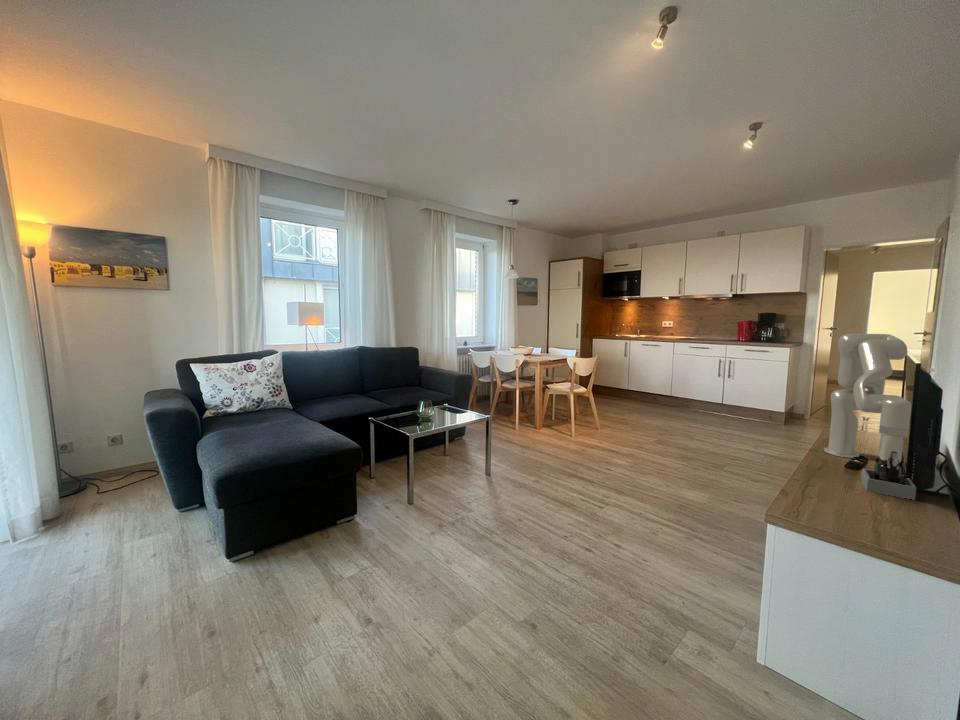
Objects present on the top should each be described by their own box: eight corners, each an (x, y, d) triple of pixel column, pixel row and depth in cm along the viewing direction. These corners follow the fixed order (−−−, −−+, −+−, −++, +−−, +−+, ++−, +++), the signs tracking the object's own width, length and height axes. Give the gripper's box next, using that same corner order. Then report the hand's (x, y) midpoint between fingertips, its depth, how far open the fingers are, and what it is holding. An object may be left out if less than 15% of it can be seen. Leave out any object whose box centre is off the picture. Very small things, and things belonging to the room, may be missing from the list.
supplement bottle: (904, 491, 147) (908, 460, 145) (886, 491, 147) (889, 460, 145) (885, 483, 154) (889, 454, 152) (868, 483, 154) (871, 454, 152)
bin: (861, 480, 159) (862, 468, 158) (905, 488, 151) (907, 475, 151) (866, 491, 149) (867, 478, 148) (914, 500, 141) (916, 487, 141)
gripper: (874, 424, 156) (870, 465, 158) (884, 435, 143) (878, 479, 145) (901, 427, 152) (896, 469, 154) (914, 438, 138) (908, 484, 140)
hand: (888, 474), depth 149 cm, fingers open, 9 cm apart
